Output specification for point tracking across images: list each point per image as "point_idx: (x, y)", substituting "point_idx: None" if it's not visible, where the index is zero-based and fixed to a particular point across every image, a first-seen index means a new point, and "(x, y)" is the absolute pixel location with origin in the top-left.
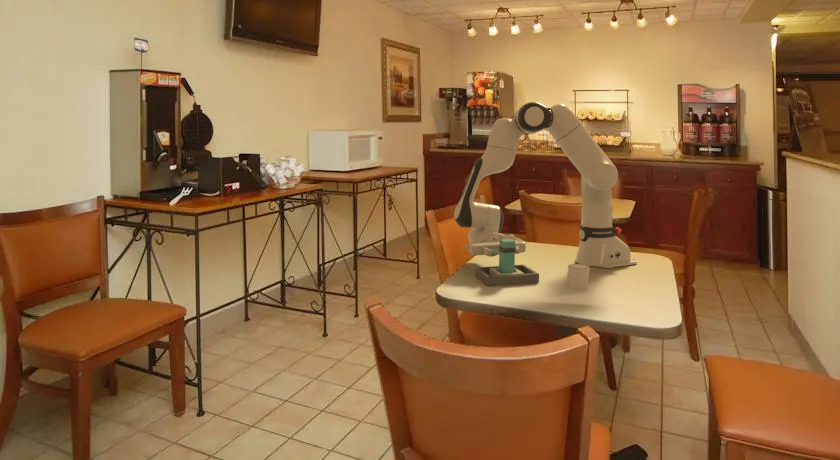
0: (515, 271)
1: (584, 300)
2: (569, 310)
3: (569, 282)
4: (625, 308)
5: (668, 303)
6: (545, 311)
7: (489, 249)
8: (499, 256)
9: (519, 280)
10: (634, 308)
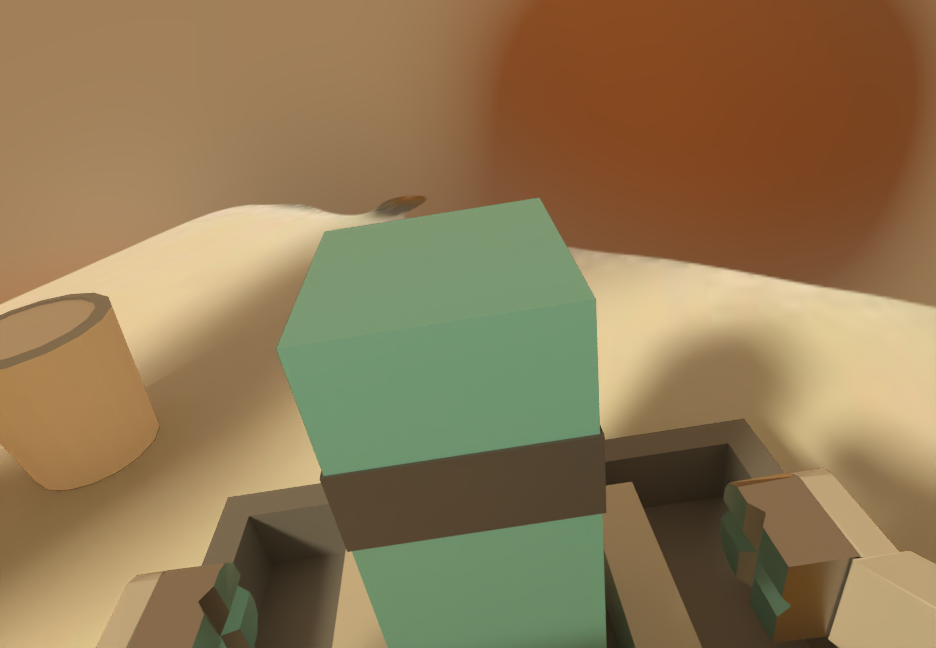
0: None
1: (263, 305)
2: None
3: (138, 418)
4: (201, 265)
5: (24, 298)
6: None
7: (852, 530)
8: (600, 575)
9: None
10: (175, 267)
